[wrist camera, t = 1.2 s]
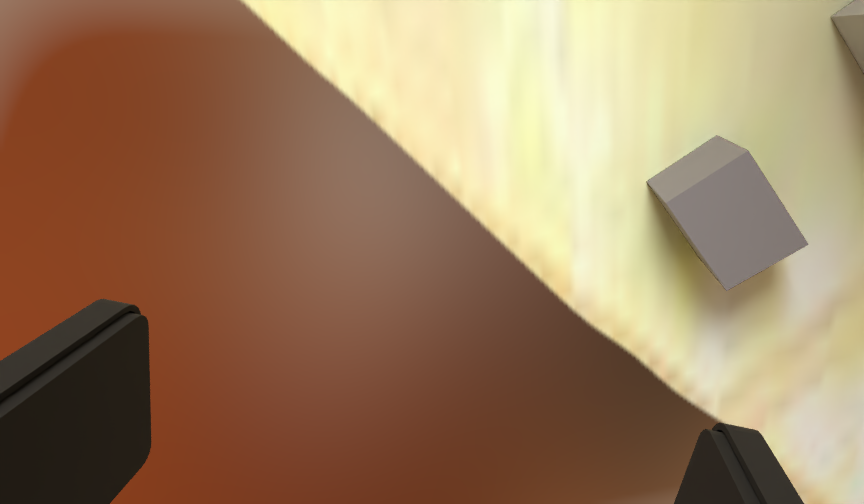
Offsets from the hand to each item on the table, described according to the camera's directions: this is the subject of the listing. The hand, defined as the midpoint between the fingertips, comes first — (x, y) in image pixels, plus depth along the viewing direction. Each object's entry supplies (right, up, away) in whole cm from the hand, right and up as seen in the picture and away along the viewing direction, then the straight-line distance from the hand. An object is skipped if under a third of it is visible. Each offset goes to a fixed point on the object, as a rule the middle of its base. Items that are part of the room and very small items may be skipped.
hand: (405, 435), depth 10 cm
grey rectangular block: (+17, +6, +25) cm, 31 cm away
